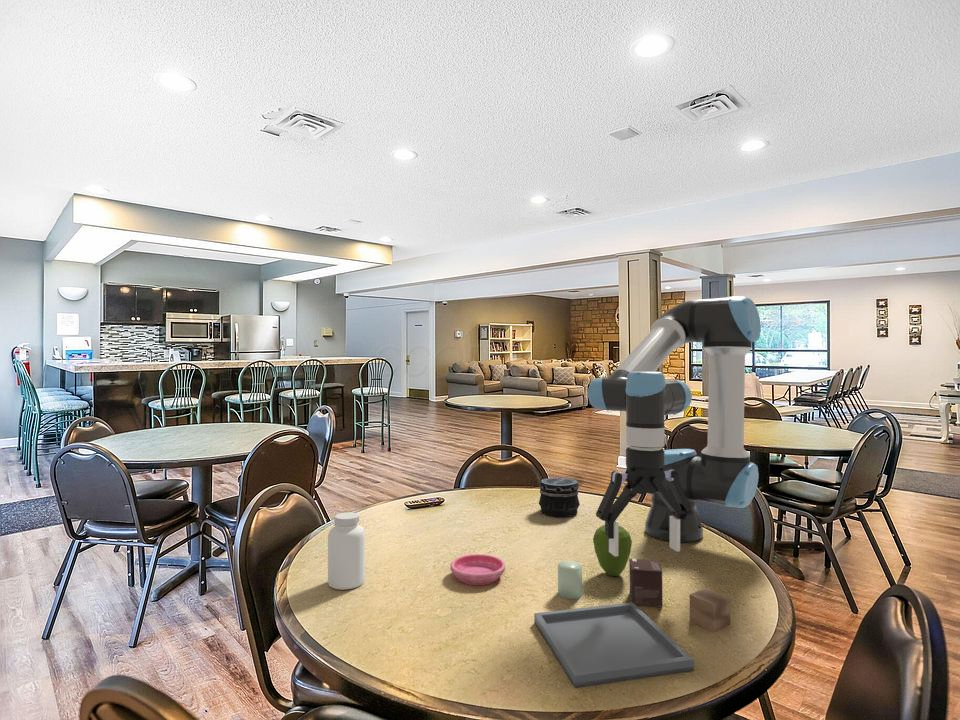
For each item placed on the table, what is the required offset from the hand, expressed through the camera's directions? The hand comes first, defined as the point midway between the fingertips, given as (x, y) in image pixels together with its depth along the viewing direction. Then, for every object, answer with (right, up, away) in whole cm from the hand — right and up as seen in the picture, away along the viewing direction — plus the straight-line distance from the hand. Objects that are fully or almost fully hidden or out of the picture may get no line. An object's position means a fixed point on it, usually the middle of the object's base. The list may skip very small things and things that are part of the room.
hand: (644, 551), depth 110 cm
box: (0, -10, 0) cm, 10 cm away
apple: (-3, -10, +13) cm, 17 cm away
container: (-8, -9, +61) cm, 62 cm away
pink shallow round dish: (-34, -10, +13) cm, 38 cm away
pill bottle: (-63, -11, +9) cm, 65 cm away
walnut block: (+9, -10, -9) cm, 16 cm away
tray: (-11, -10, -16) cm, 22 cm away
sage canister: (-15, -10, +3) cm, 18 cm away
